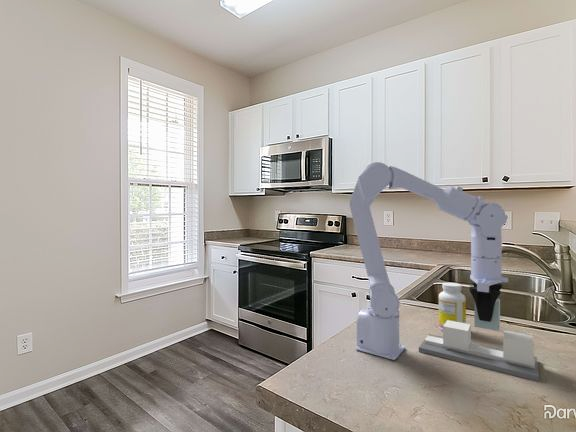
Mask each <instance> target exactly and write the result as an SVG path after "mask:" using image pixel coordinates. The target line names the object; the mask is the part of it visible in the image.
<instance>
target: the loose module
mask: <svg viewBox="0 0 576 432" xmlns="http://www.w3.org/2000/svg"><path fill="white" fill-rule="evenodd" d="M474 328H479V329H484V330H491V331H496V332H500V328H501V299H500V298H497V300H496V302H495V305H494V310H493V316H492V319H491V322H487V321H482V320H479V317H478V313H477V308H476V304H475V301H474Z"/></svg>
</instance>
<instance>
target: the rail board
mask: <svg viewBox="0 0 576 432" xmlns="http://www.w3.org/2000/svg"><path fill="white" fill-rule="evenodd" d="M471 327H472V325H471V324H470V323H467V322H466V323H461V322H455V321H450V320H447V321H446V323H445V324H444V326H443V331H442V336H440V335H435V334H431V333H428V334H427V336H426V337H425V339H424V340H423V341H422V342H421V344H420V345H419V347H418V353H423V354H427V355H431V356H435V357H438V358H443V359H447V360H451V361H455V362H459V363H463V364H466V365H467V364H468V365H470V366H475V367H478V368H482V369H487V370H491V371H495V372H499V373H503V374H507V375H509V376H510V375H511V376H515V377H519V378H523V379H527V380H530V381H535V382H538V383H539V382H540V373H539V372H540V371H539V365H538V364H539V363H538V357H537V356H534V353H535V352H534V351H535V350H534V348H535V346H534V335H529V334H526V333H520V332H514V331H509V330H503V331H504V332H503V336H502V337H503V338H502V342H503V344H502V345H503V346H502V347H503V348H502V349H501V348H497V347H493V346H492V347H491V346H487V345H483V344H477V343H474V342H473V343H472V342H471V341H472V337H471V336H472V333H471V332H472V328H471Z"/></svg>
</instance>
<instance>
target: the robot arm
mask: <svg viewBox="0 0 576 432" xmlns="http://www.w3.org/2000/svg"><path fill="white" fill-rule="evenodd" d="M387 187H388V190H397V189H398V190H399V189H402V190H403V189H404V190H406V191H408V192H411V193H412V194H415V195H418V196H421V197H423V198H426V199H428V200H431V201H433V202H435V204H436V206H437V208H438V210H439V211H442V212H444V213H447V214H449V215H451V216H453V217H456V218H458V219H459V220H462V221H465V222H468V224H469V225H470V228H471V229H470V230H471V233H470V234H471V236H470V276H469V279H470V280H471V281H472V282H473V283H472V285H470V286H469V292H470V295H471V296H472V298H473V300H474V301H475V304H476V308H477V313H478V317H479V320H482V321H487V322H491V319H492V316H493V310H494V305H495V302H496V300H497V299H499V298H498V297H499V296H500V294H501V292H502V291H501V289H502V288H503V284H502V283H508V282H509V278H508V277H502V274H503V273H502V272H503V270H502V269H503V268H502V267H503V266H502V258H503V257H502V254H503V253H502V252H503V251H502V250H503V249H502V242H503V241H502V237H503V236H502V228H503V226H504V225H506V223H507V219H508V215H507V214H506V212H505V209H503V207H502V206H501V205H500V204H498V203H495V202H485V201H484V200H485V198H484V197H482V196H475V195H473V194H470V193H468V192H465V191H463V190H464V188H463V187H461V186H455V187H453V186H449V187H446V188H441V187H439V186H437V185H435V184H434V183H430V182H429V181H427V180H424V179H422V178H420V177H418V176H416V175H414V174H412V173H410V172H408V171H405V170H403V169H400V168H397V167H395V166H392V165H389V166H388V165H387V164H386V163H383V162H381V161H380V162H378V161H377V162H372V163H370V164H368V165H367V166H366V167H365V168H364V169H363V170H362V172H361V173H360V174H359V176H358V178H357V181H356V184H355V186H354V188H353V190H352V191H353V192H352V194H351V197H350V200H349V209H350V213H351V216H352V220H353V225H354V228H355V232H356V236H357V240H358V243H359V248H360V251H361V254H362V258H363V263H364V266H365V270H366V274H367V279H368V281H369V282H368V283H369V290H368V295H369V299H370V302H369V303H370V306H369V307H367V308H366V309H365V308H363V309H361V310H360V311H358V315H357V319H356V347H355V350H356V351H360V352H364V353H367V354H371V355H374V356H379V357H381V358H384V359H389V360H392V361H395V360H397V358H398V357H399V356H400V355H401V353H403V351H404V350H405V349H406V346H405V345H402V344H400V311H399V308H400V305H401V304H400V299H399V296H398V295H397V294H396V292H395V288H394V286H393V285H392V284H391V282H390V279H389V276H388V272H387V269H386V264H385V261H384V257H383V253H382V250H381V246H380V242H379V237H378V235H377V230H376V227H375V223H374V219H373V215H372V210H371V206H372V204H373V203H374V201H375V200H376V198H377V196H378V194H380V193H381V192H382V191H384V190H385V189H386V188H387Z"/></svg>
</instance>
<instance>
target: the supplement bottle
mask: <svg viewBox="0 0 576 432" xmlns="http://www.w3.org/2000/svg"><path fill="white" fill-rule="evenodd" d="M441 286H442V291H440V293H439V294H438V328H439V330H440V331H442V332H443V326H444V324H445V323H446V321H447V320H450V321H455V322H461V323H466V324H467V309H466V308H467V304H466V303H467V300H466V296H465V294H464V293H462V292H461V291H462V284H460V283H458V282H443V283H442V285H441Z"/></svg>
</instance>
